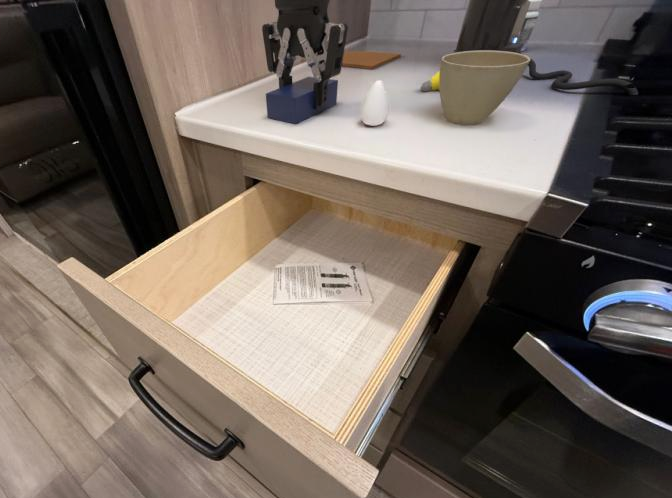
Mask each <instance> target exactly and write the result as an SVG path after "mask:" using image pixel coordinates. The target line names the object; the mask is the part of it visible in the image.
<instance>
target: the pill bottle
mask: <svg viewBox="0 0 672 498" xmlns="http://www.w3.org/2000/svg"><path fill="white" fill-rule="evenodd" d="M528 1H530V6H529V9H528V11H527V14H526V17H525V19H524V22H523V25H522V27H521V30H520V33H519V35H518V38H517V41H516V43H523V46H522V49H521V51H520V53H521V52H524V51H525V50H526V48H527V44H528V42H529V40H530V38H531V35H532V33H533V30H534V27H535V25H536V23H537V20H538V17H539V14H540V12H539V11H538V10H539V9H540V8H541V5H542V3H543V0H528Z"/></svg>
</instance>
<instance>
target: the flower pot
mask: <svg viewBox="0 0 672 498" xmlns="http://www.w3.org/2000/svg"><path fill="white" fill-rule="evenodd" d="M522 54H523V53H521V54H519V53H514V52H506V51H491V50H480V51H465V52H457V53H454V52H451V53H448V54H445V55H443V56H442V57H441V59H440V60H441V61H440V66H439V70H440V77H439V89H440V90H439V99H440V100H439V101H440V104H441V105H440V106H441V110H442V113H443V116H444V119H445V120H446V121H447V122H449V123H452V124H456V125H465V126H466V125H467V126H468V125H471V126H472V125H478V124H481V123H483V122H484V121H485V120H487V119H488V118H489V117H490V116H491V115H492V114H493V113H494V112H495V111H496V110H497V109H498V107H500V105H502V103H503V102H504V101H505V100H506V98H507V97H508V96H509V94H510V93H511V92H512V91H513V89H514V88H515V87H516V85H517V84H518V82H519V81H520V79H521V77H522V76H523V75H524V73H525V71H526V69H527V67H528V63H529V62H530V58H531V57H530V56H528V55H525V54H523V55H522ZM529 57H530V58H529Z"/></svg>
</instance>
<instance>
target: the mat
mask: <svg viewBox="0 0 672 498" xmlns="http://www.w3.org/2000/svg"><path fill="white" fill-rule="evenodd" d="M401 56H402V53H395V52H394V53H393V52H380V51H379V52H378V51H363V50H348V51H344V54H343V61H342V67H345V68H354V69H368V70H374V69H376V68H378V67H381V66H383V65H385V64H387V63H390V62H392V61H395V60H397V59H399V58H401Z"/></svg>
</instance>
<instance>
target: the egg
mask: <svg viewBox="0 0 672 498" xmlns="http://www.w3.org/2000/svg"><path fill="white" fill-rule="evenodd" d="M389 102H390V101H389V96H388V91H387V88H386V85H385V83H384V81H383V80H381V79H377V80H376V81H374V83H373V84H372V85H371V86H370V88H369V89H368V91H367V93H366V95H365V97H364V99H363V101H362V105H361V109H360V118H361V121H362V123H364V124H365V125H367V126H370V127H371V126H373V127H374V126H380V125H381V124H383V123H384V122H385V121H386V119H387V117H388V115H389V110H390V109H389V108H390V105H389V104H390V103H389Z"/></svg>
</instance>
